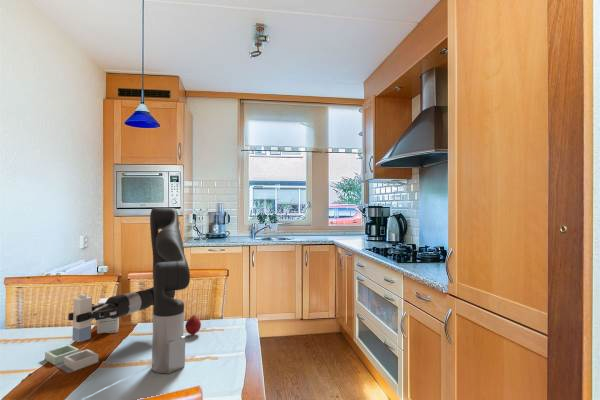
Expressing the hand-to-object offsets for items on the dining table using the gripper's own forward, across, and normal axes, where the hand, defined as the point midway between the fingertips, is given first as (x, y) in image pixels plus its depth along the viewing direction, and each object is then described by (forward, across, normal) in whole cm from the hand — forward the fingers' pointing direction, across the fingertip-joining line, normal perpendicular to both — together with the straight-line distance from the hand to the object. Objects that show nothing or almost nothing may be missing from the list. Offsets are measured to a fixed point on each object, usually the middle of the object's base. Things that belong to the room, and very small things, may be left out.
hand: (73, 318), depth 103 cm
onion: (-39, +12, +16) cm, 44 cm away
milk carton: (-3, 0, +7) cm, 8 cm away
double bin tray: (-3, -5, +16) cm, 17 cm away
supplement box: (-26, -21, +15) cm, 37 cm away
